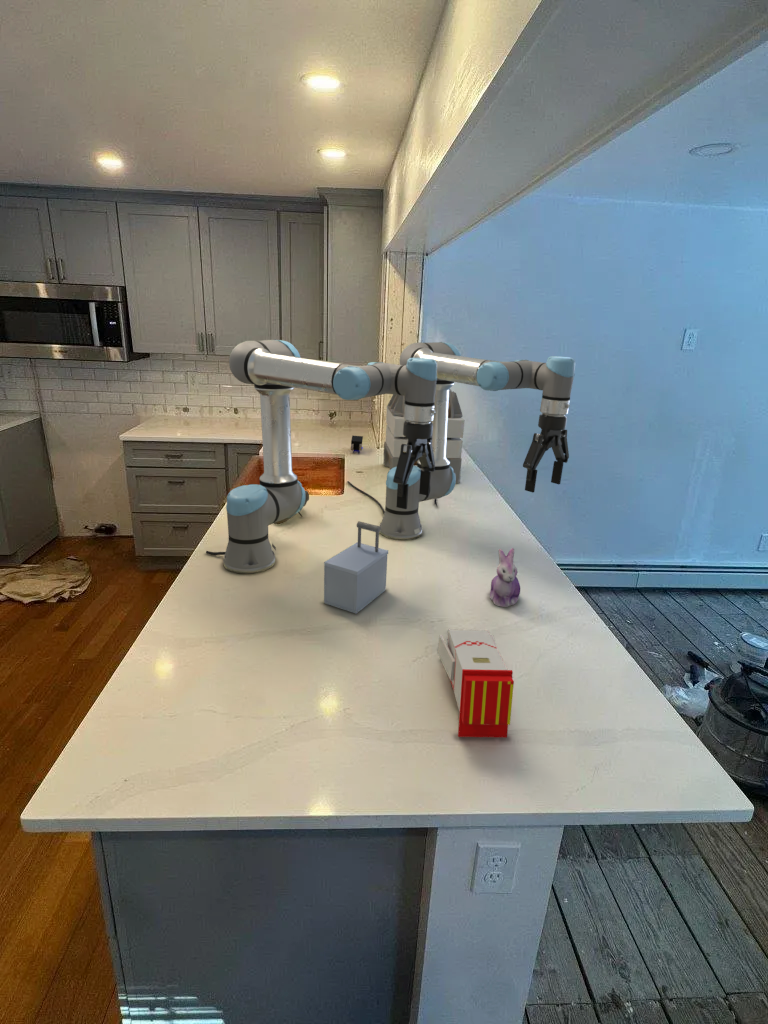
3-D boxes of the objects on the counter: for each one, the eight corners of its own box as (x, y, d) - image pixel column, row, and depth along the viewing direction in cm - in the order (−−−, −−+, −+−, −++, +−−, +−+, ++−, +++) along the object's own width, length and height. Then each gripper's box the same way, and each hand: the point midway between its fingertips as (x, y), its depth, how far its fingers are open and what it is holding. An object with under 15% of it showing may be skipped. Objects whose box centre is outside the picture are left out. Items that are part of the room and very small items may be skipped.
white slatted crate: (382, 463, 289) (386, 382, 275) (445, 464, 293) (451, 384, 279) (390, 482, 257) (394, 392, 243) (460, 483, 261) (468, 394, 247)
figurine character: (362, 457, 305) (363, 447, 318) (362, 443, 301) (363, 434, 315) (350, 456, 304) (351, 447, 318) (350, 443, 301) (351, 434, 314)
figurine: (502, 611, 151) (509, 560, 146) (479, 594, 159) (485, 545, 154) (530, 604, 155) (537, 554, 150) (506, 588, 163) (512, 540, 158)
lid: (357, 545, 161) (357, 517, 158) (388, 553, 156) (389, 525, 153) (324, 565, 147) (324, 535, 145) (357, 575, 143) (358, 544, 140)
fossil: (278, 495, 221) (307, 474, 216) (294, 513, 224) (323, 493, 219) (262, 520, 201) (293, 498, 196) (280, 540, 204) (311, 518, 199)
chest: (355, 580, 164) (356, 546, 161) (385, 590, 160) (387, 554, 156) (323, 603, 151) (324, 565, 147) (356, 613, 147) (357, 575, 143)
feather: (434, 490, 254) (437, 486, 253) (436, 508, 227) (439, 504, 227) (431, 488, 254) (434, 484, 253) (433, 506, 227) (436, 502, 227)
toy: (488, 613, 130) (523, 677, 101) (484, 667, 133) (517, 744, 104) (435, 612, 130) (455, 676, 101) (432, 666, 133) (451, 743, 103)
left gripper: (410, 431, 131) (404, 517, 138) (451, 416, 152) (444, 491, 159) (381, 427, 135) (378, 511, 142) (425, 413, 155) (420, 486, 162)
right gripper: (540, 420, 147) (529, 498, 154) (588, 412, 163) (576, 483, 170) (516, 416, 152) (506, 491, 159) (565, 408, 168) (554, 477, 176)
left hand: (413, 501), depth 150 cm, fingers open, 13 cm apart
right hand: (542, 487), depth 165 cm, fingers open, 13 cm apart
